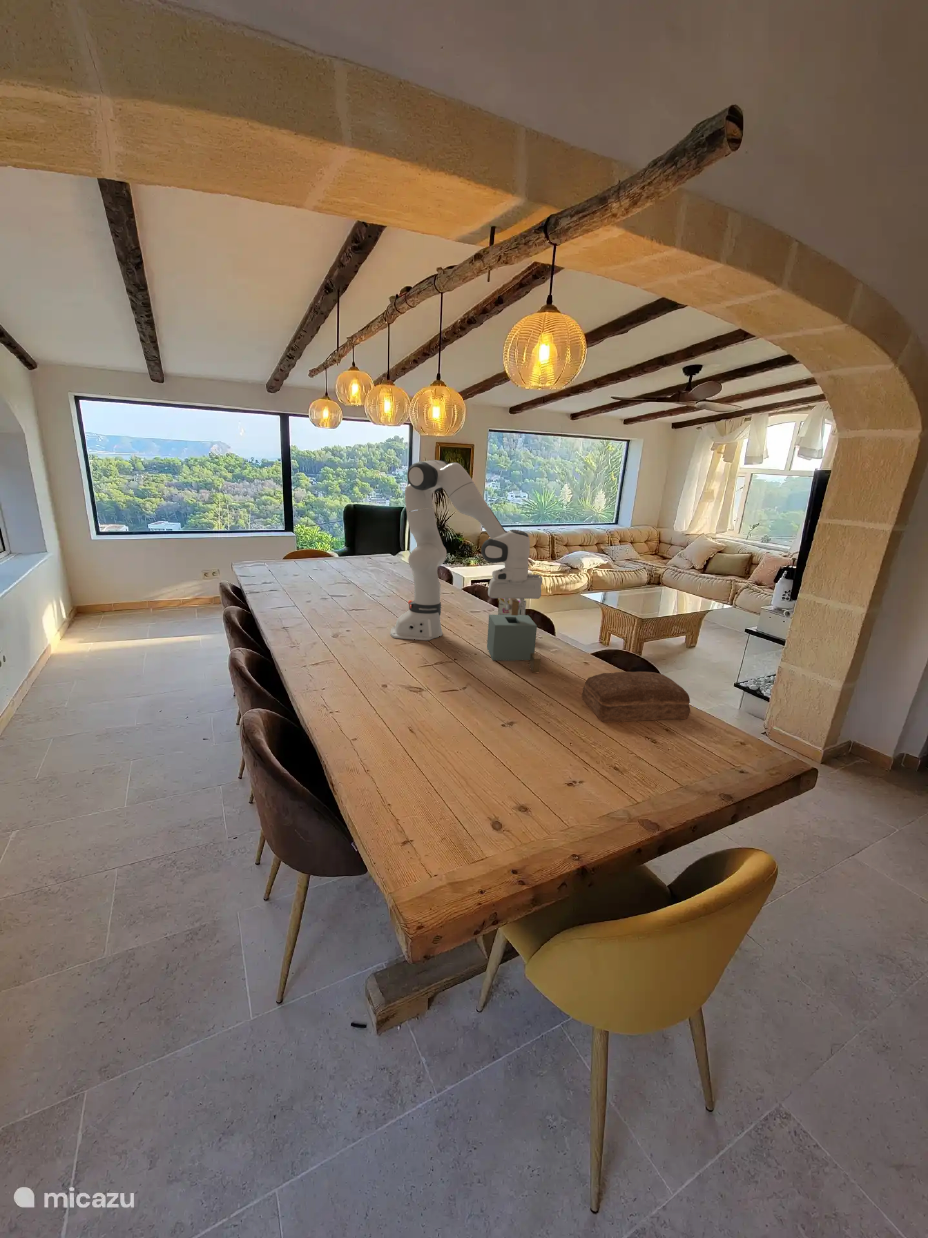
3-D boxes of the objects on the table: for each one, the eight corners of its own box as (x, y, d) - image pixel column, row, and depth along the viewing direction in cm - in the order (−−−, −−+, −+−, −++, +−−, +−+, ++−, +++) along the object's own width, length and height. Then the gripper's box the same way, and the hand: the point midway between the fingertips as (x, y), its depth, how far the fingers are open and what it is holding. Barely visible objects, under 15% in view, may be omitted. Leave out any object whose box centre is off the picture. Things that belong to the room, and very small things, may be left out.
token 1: (511, 615, 186) (512, 601, 184) (508, 611, 191) (509, 597, 190) (517, 615, 186) (518, 601, 185) (514, 611, 192) (515, 597, 190)
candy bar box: (496, 633, 218) (498, 597, 213) (501, 630, 222) (503, 595, 217) (518, 638, 212) (521, 602, 208) (523, 635, 216) (526, 599, 212)
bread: (691, 721, 147) (698, 686, 144) (599, 724, 143) (604, 688, 139) (661, 696, 163) (667, 664, 160) (577, 698, 159) (582, 665, 155)
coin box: (492, 660, 186) (495, 625, 182) (486, 647, 199) (489, 614, 195) (533, 660, 188) (537, 625, 184) (525, 647, 201) (528, 615, 197)
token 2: (533, 672, 176) (534, 658, 175) (529, 667, 182) (530, 653, 180) (539, 672, 177) (540, 658, 175) (535, 667, 182) (537, 653, 180)
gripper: (540, 572, 189) (537, 607, 193) (488, 571, 186) (486, 606, 190) (545, 576, 183) (541, 611, 187) (491, 575, 180) (488, 611, 184)
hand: (513, 609), depth 188 cm, fingers closed on token 1, 2 cm apart
